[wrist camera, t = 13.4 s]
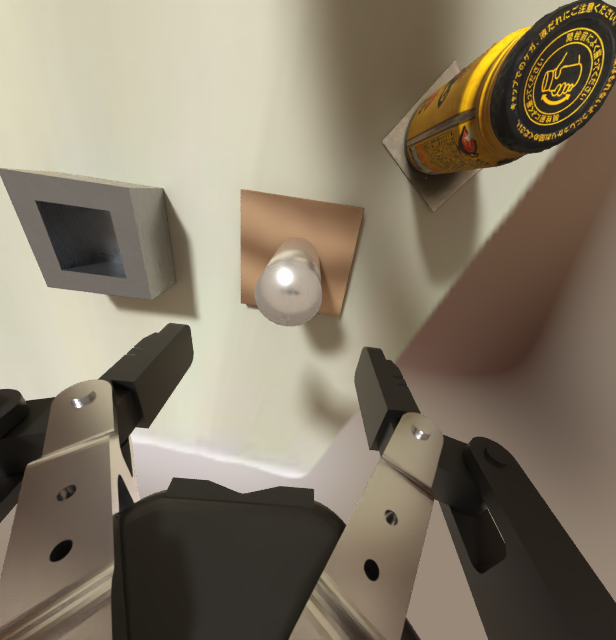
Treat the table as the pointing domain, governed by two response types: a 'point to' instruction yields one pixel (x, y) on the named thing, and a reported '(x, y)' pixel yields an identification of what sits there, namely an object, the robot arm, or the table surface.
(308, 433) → the table surface
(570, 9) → the condiment
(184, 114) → the table surface
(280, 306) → the plug
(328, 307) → the board
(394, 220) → the table surface
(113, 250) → the housing
